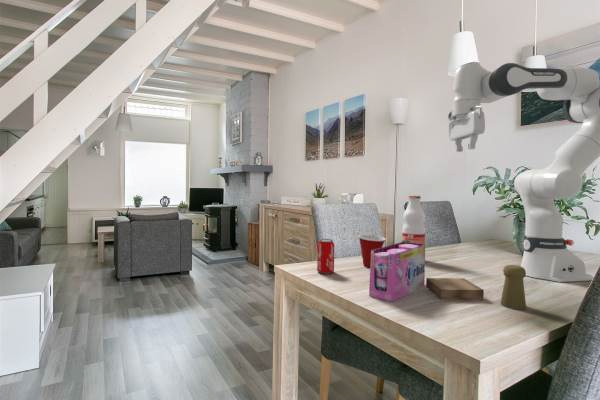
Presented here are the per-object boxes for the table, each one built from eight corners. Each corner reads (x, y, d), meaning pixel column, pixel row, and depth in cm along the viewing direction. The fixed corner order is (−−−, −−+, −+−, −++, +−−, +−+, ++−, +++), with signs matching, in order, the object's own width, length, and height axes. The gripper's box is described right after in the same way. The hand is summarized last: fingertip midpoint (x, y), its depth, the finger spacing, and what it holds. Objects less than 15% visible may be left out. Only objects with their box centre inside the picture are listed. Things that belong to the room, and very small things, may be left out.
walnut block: (463, 287, 110) (464, 278, 110) (483, 300, 98) (483, 289, 98) (426, 287, 110) (426, 277, 110) (440, 299, 98) (441, 289, 98)
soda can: (331, 275, 124) (332, 242, 123) (314, 273, 126) (315, 241, 125) (335, 271, 130) (336, 239, 129) (319, 269, 132) (320, 238, 131)
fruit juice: (427, 260, 150) (429, 195, 149) (419, 264, 143) (421, 196, 141) (406, 257, 156) (408, 195, 155) (398, 260, 149) (399, 195, 147)
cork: (531, 308, 92) (533, 267, 92) (514, 310, 90) (515, 268, 90) (512, 301, 98) (513, 262, 97) (495, 303, 96) (496, 263, 96)
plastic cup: (382, 270, 131) (382, 239, 131) (354, 267, 136) (354, 237, 135) (387, 264, 141) (388, 235, 141) (361, 262, 146) (362, 233, 145)
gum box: (391, 303, 95) (392, 254, 94) (365, 297, 100) (366, 250, 100) (425, 285, 113) (426, 244, 112) (402, 280, 118) (403, 241, 117)
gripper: (491, 103, 111) (489, 147, 111) (462, 116, 131) (461, 153, 132) (471, 103, 111) (470, 147, 111) (445, 116, 131) (444, 153, 132)
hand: (465, 150), depth 122 cm, fingers open, 8 cm apart
